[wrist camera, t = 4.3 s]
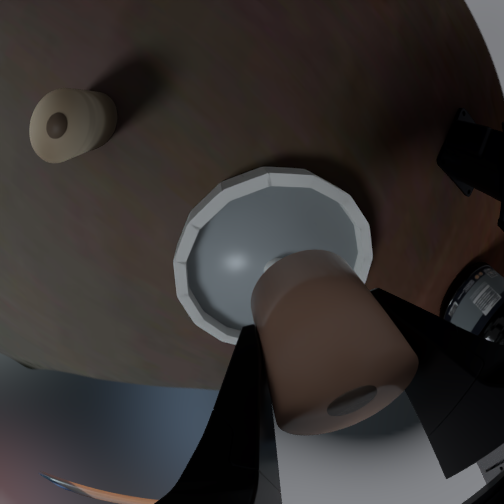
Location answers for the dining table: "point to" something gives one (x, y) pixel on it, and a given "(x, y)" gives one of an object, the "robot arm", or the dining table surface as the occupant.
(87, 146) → the maple bead
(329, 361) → the terracotta bead
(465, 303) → the supplement container
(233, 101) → the dining table surface
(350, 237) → the ring tray
